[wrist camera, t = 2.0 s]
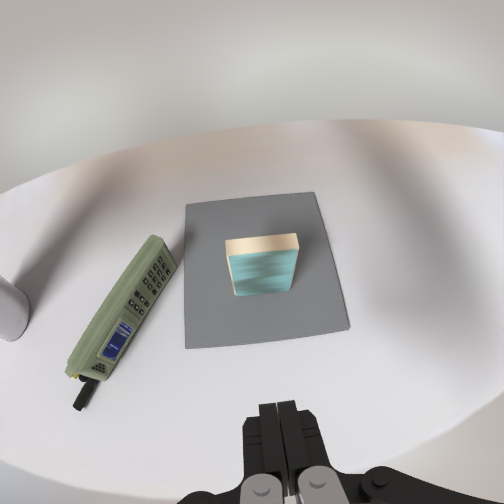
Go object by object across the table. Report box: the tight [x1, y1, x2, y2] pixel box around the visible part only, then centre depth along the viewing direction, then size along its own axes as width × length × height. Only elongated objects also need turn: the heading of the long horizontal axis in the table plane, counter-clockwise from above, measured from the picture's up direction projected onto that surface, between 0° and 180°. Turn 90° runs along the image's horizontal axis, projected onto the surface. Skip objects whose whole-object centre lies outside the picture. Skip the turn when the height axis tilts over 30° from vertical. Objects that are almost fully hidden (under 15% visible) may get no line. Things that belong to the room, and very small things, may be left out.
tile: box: [225, 233, 299, 297], centre depth 32 cm, size 7×2×10 cm, turn 96°
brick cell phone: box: [65, 235, 178, 411], centre depth 31 cm, size 7×3×25 cm
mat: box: [184, 192, 349, 349], centre depth 39 cm, size 20×22×1 cm
